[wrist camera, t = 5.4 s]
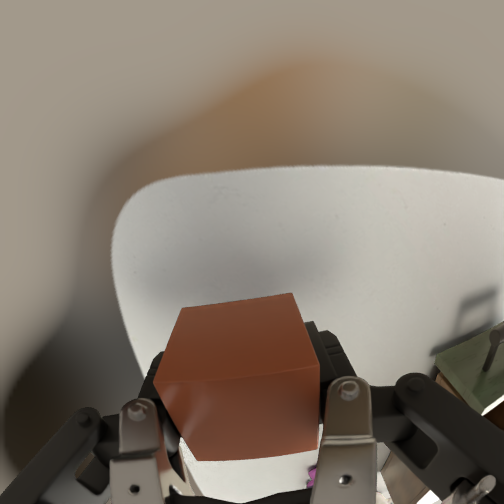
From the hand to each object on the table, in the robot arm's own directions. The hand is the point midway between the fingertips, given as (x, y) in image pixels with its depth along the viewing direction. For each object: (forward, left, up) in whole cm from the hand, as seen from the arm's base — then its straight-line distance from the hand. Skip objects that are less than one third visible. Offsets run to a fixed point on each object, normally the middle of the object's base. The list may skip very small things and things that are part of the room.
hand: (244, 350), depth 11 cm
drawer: (-5, +25, -5) cm, 26 cm away
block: (0, 0, 0) cm, 0 cm away
